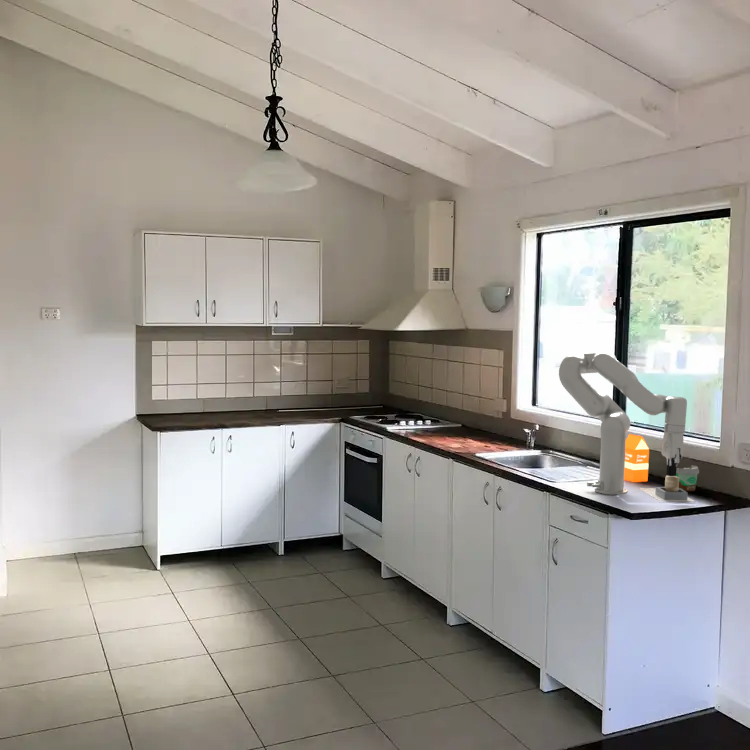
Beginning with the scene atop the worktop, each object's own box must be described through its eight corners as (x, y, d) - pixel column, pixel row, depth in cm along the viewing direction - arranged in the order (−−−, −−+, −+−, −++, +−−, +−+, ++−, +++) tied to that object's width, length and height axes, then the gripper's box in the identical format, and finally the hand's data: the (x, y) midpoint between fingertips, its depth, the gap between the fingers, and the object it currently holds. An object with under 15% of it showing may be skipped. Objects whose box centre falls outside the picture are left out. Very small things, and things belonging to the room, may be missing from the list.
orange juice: (632, 484, 348) (635, 437, 346) (619, 479, 356) (621, 433, 355) (647, 483, 351) (650, 436, 349) (634, 478, 359) (636, 433, 357)
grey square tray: (664, 499, 316) (664, 492, 316) (655, 494, 325) (655, 487, 325) (687, 500, 316) (687, 492, 316) (677, 494, 325) (678, 487, 325)
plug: (667, 498, 318) (668, 478, 317) (662, 495, 323) (663, 475, 322) (680, 498, 318) (681, 478, 318) (674, 495, 323) (676, 475, 323)
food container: (686, 495, 329) (688, 470, 328) (673, 492, 334) (674, 467, 333) (704, 491, 336) (705, 467, 336) (690, 488, 341) (692, 464, 341)
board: (659, 502, 315) (659, 500, 315) (638, 489, 336) (638, 488, 336) (695, 503, 315) (695, 501, 315) (672, 490, 337) (672, 488, 337)
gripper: (657, 425, 326) (654, 471, 328) (672, 431, 311) (669, 479, 313) (676, 426, 326) (672, 471, 328) (692, 432, 311) (688, 480, 313)
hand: (671, 475), depth 320 cm, fingers closed
